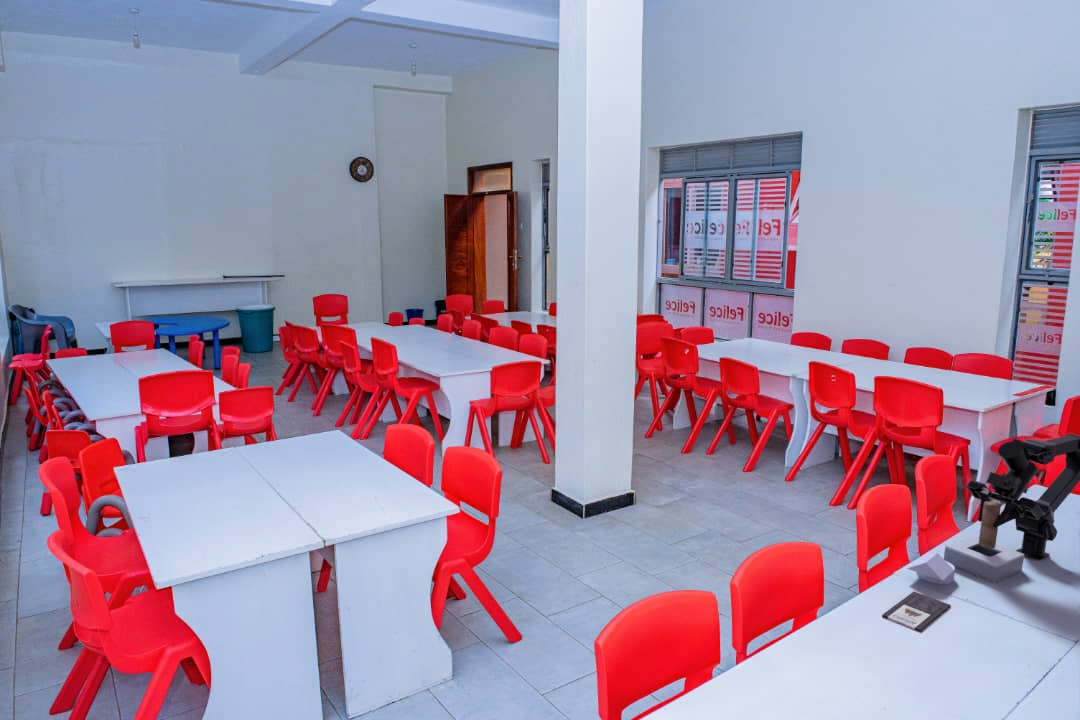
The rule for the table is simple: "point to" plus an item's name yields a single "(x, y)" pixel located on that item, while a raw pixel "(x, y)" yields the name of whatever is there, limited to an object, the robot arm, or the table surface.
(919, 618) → the chocolate bar
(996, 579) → the box
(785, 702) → the table surface
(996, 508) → the peg
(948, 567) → the wedge on round base
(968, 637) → the table surface
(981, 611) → the table surface
